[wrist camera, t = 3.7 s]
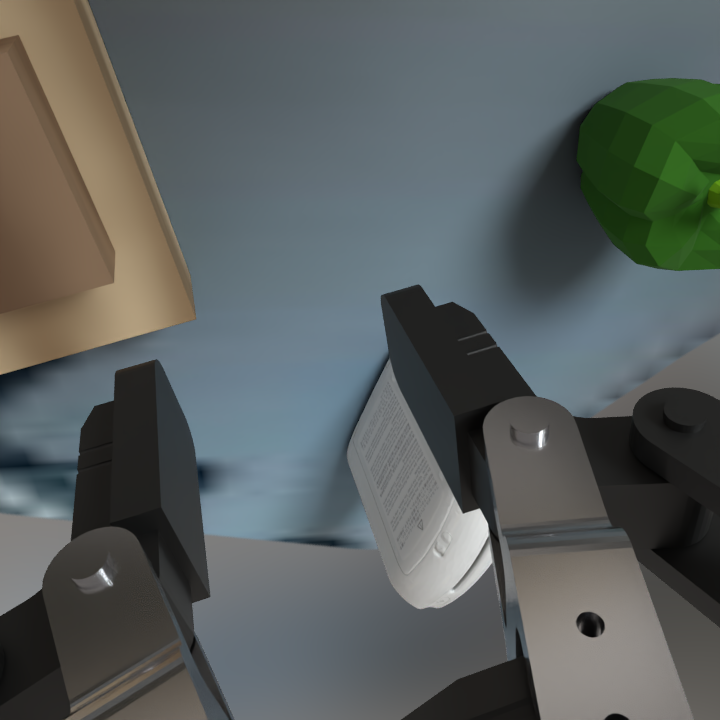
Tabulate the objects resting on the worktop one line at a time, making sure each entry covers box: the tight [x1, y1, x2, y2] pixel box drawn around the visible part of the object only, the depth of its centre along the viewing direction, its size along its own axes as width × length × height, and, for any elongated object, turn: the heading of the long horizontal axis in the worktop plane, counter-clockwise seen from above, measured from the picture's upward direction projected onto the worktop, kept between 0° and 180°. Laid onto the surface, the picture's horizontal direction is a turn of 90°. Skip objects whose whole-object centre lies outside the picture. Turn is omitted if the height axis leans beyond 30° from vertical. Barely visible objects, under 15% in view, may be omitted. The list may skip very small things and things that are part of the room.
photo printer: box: [347, 358, 492, 609], centre depth 36 cm, size 10×4×12 cm, turn 158°
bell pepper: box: [576, 78, 720, 271], centre depth 30 cm, size 8×8×10 cm
